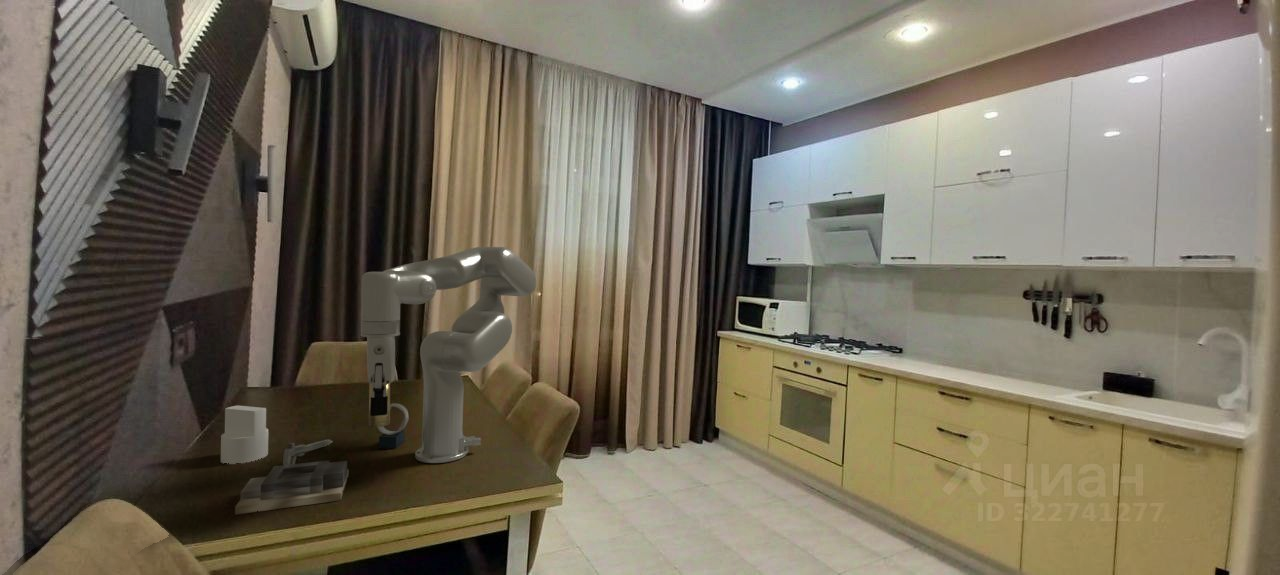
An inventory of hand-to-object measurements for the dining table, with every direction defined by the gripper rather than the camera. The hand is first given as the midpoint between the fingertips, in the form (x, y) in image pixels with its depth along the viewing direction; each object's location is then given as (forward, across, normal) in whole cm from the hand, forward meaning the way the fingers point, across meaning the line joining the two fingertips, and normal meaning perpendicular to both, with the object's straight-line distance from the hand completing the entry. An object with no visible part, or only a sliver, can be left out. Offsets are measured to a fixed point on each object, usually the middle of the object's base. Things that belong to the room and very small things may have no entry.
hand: (379, 411), depth 107 cm
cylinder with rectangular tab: (+16, +28, +30) cm, 44 cm away
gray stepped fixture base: (+16, 0, +15) cm, 22 cm away
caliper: (+16, +24, +16) cm, 33 cm away
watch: (+16, +26, -2) cm, 30 cm away
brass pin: (+3, 0, 0) cm, 3 cm away
